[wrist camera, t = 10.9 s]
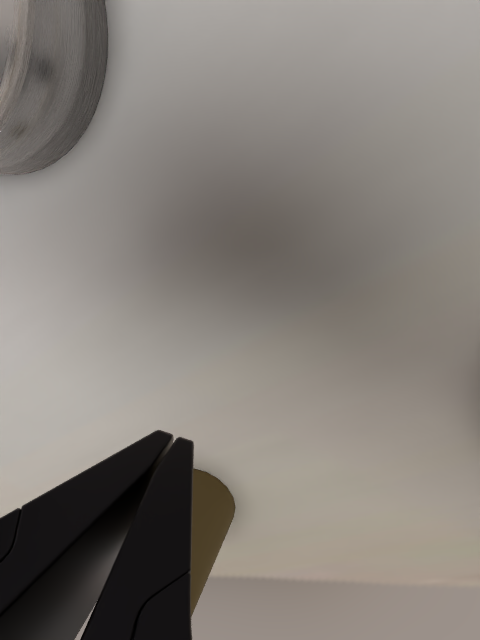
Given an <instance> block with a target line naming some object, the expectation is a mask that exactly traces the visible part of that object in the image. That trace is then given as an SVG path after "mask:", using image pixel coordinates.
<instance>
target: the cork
mask: <svg viewBox="0 0 480 640" xmlns="http://www.w3.org/2000/svg"><path fill="white" fill-rule="evenodd" d="M234 512H235V504H234V499H233V496H232V495H231V493H230V491H229V490H228V488H227V487H226V486H225V485H224V484H223V483H222V482H221V481H220V480H219V479H217V478H216V477H214V476H212V475H210V474H208V473H207V472H203V471H200V470H196V469H193V504H192V554H191V573H190V574H191V616H192V614H193V612H194V609H195V607H196V605H197V602H198V600H199V597H200V595H201V593H202V590H203V588H204V586H205V583H206V581H207V579H208V576H209V574H210V572H211V569H212V567H213V564H214V562H215V560H216V557H217V555H218V553H219V550H220V548H221V546H222V543H223V541H224V539H225V536H226V534H227V531H228V529H229V527H230V524H231V522H232V520H233V517H234Z"/></svg>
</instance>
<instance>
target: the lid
mask: <svg viewBox="0 0 480 640" xmlns="http://www.w3.org/2000/svg"><path fill="white" fill-rule="evenodd" d="M34 18H35V0H0V131H1V129H2V128H3V126H4V125H5V123H6V122H7V120H8V119H9V117H10V115H11V113H12V111H13V109H14V106H15V104H16V102H17V100H18V98H19V95H20V92H21V89H22V86H23V83H24V79H25V76H26V73H27V69H28V64H29V59H30V53H31V48H32V43H33V31H34Z"/></svg>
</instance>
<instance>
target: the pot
mask: <svg viewBox="0 0 480 640" xmlns="http://www.w3.org/2000/svg"><path fill="white" fill-rule="evenodd" d="M107 40H108V33H107V20H106V9H105V4H104V0H35V18H34V31H33V43H32V48H31V53H30V59H29V64H28V69H27V73H26V76H25V79H24V83H23V86H22V89H21V92H20V95H19V98H18V100H17V102H16V104H15V106H14V109H13V111H12V113H11V115H10V117H9V119H8V120H7V122H6V123H5V125H4V126H3V128H2V129H1V131H0V174H14V175H18V174H25V173H31V172H34V171H37V170H40V169H43V168H45V167H47V166H49V165H51V164H53V163H54V162H56V161H57V160H58V159H60V158H61V157H62V156H64V155H65V154H66V153H67V152H68V151H69V150H70V149H71V148H72V147H73V146H74V145H75V144H76V143H77V141H78V140H79V138H80V137H81V136H82V134H83V133H84V131H85V130H86V128H87V126H88V124H89V122H90V120H91V118H92V116H93V114H94V112H95V109H96V106H97V104H98V101H99V98H100V95H101V90H102V86H103V82H104V78H105V70H106V62H107Z"/></svg>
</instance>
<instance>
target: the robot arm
mask: <svg viewBox="0 0 480 640" xmlns="http://www.w3.org/2000/svg"><path fill="white" fill-rule="evenodd" d="M172 444H173V445H172ZM193 453H194V443H193V441H191V440H188V439H185V438H182V437H178V438H177V439H176V440H175V442H174V443H173V435H172V434H170V433H167V432H164V431H161V430H157V431H155V432H153V433H151V434H149V435H148V436H146V437H144V438H142V439H141V440H139V441H137V442H135V443H133V444H132V445H130V446H128V447H126V448H124V449H123V450H121V451H119V452H117V453H116V454H114V455H112V456H110V457H108V458H107V459H105V460H103V461H101V462H100V463H98V464H96V465H94V466H92V467H91V468H89V469H87V470H85V471H84V472H82V473H80V474H78V475H76V476H75V477H73V478H71V479H69V480H67V481H66V482H64V483H62V484H60V485H59V486H57V487H55V488H53V489H51V490H50V491H48V492H46V493H44V494H43V495H41V496H39V497H37V498H35V499H34V500H32V501H30V502H28V503H27V504H25V505H23V506H22V508H21V509H20V508H17V509H16V510H14V511H12V512H10V513H8V514H7V515H5V516H3V517H1V518H0V640H74V639H75V638H76V636H77V634H78V632H79V631H80V629H81V627H82V626H83V624H84V622H85V621H86V619H87V617H88V616H89V614H90V612H91V610H92V609H93V607H94V605H95V603H96V602H97V603H96V605H95V607H94V610H93V612H92V614H91V617H90V619H89V621H88V623H87V626H86V628H85V630H84V633H83V635H82V637H81V639H80V640H192V633H191V574H190V573H191V554H192V504H193ZM97 600H98V601H97Z"/></svg>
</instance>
